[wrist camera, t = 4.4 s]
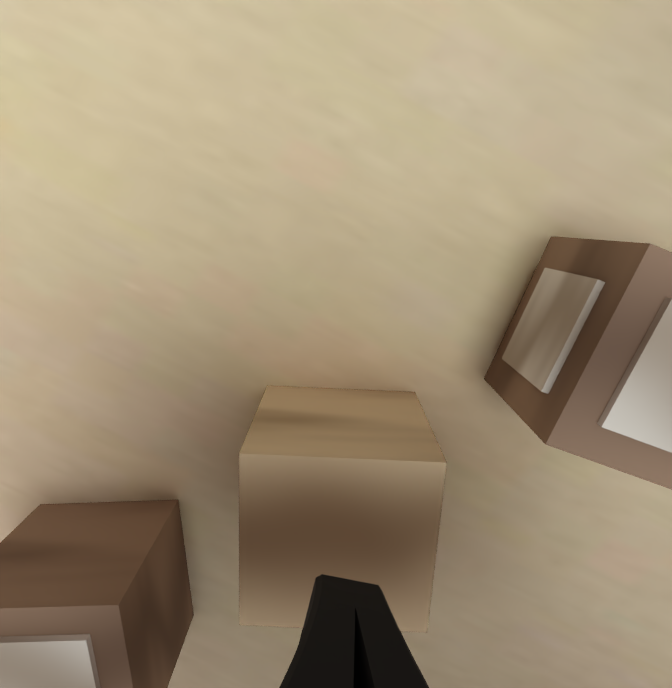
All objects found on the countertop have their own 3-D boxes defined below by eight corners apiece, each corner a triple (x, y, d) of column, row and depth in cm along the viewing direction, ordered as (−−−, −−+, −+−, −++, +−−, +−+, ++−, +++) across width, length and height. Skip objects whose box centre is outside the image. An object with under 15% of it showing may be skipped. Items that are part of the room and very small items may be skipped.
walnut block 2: (614, 426, 17) (733, 514, 12) (477, 376, 16) (541, 445, 11) (688, 292, 16) (855, 325, 11) (544, 234, 15) (648, 240, 10)
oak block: (402, 519, 18) (427, 632, 13) (265, 514, 18) (239, 625, 13) (414, 391, 17) (446, 462, 12) (267, 384, 16) (238, 453, 12)
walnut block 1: (194, 613, 19) (141, 757, 14) (60, 617, 19) (-40, 762, 14) (178, 498, 18) (115, 611, 13) (36, 503, 18) (-85, 616, 13)
